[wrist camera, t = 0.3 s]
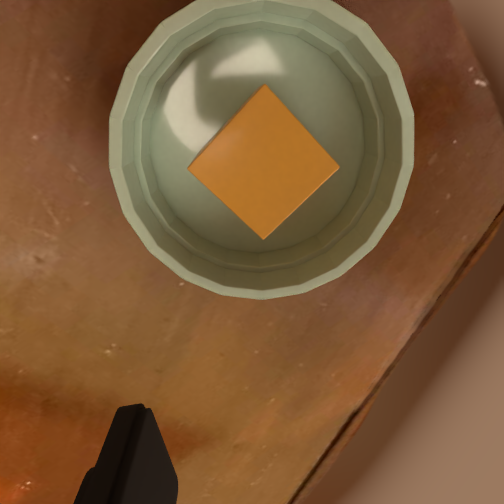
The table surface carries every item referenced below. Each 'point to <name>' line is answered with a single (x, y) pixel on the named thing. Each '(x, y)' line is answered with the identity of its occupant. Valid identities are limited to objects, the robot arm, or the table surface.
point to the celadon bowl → (221, 110)
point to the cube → (263, 163)
